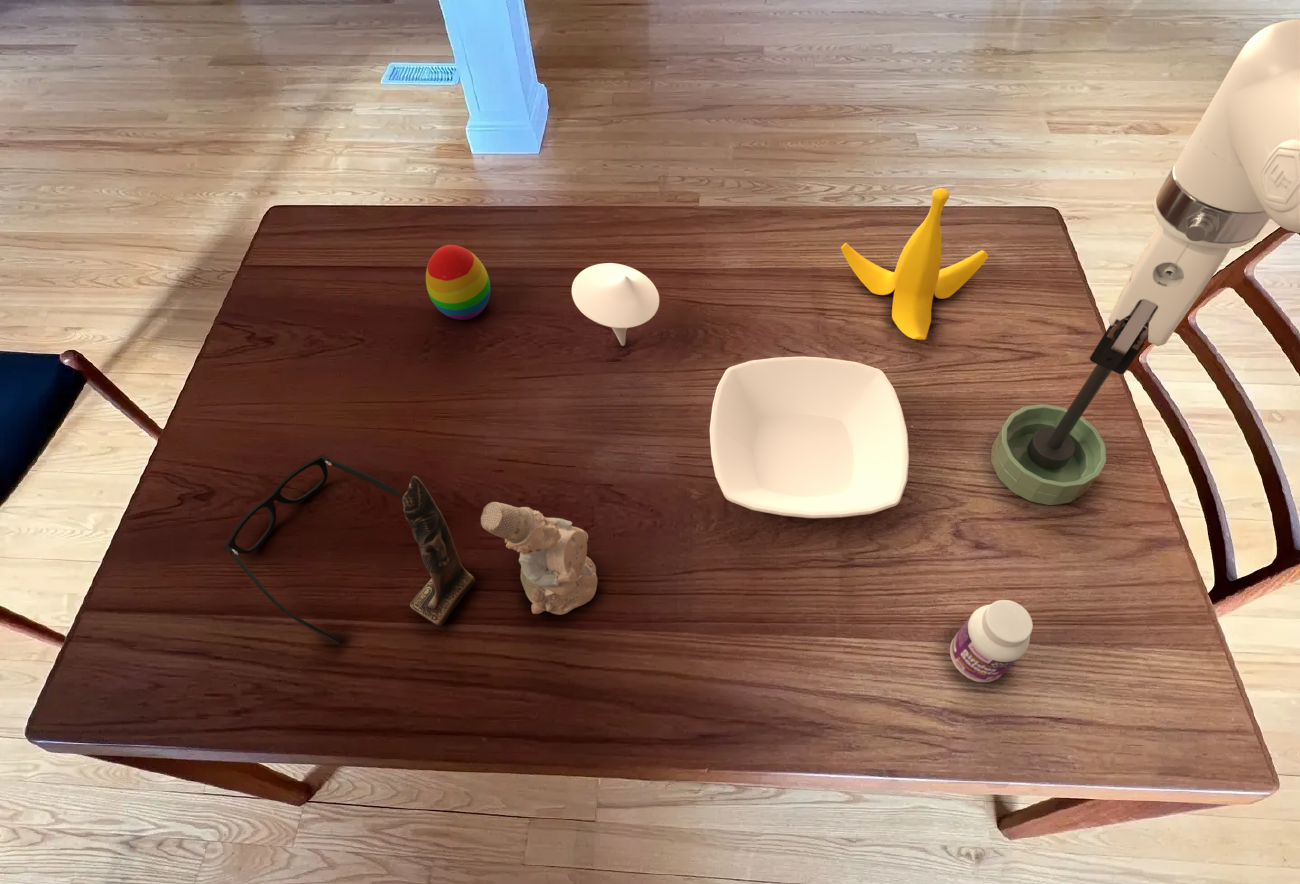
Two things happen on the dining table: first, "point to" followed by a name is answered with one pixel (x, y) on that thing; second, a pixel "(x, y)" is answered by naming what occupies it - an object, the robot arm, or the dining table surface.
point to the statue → (435, 556)
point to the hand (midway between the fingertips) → (1111, 357)
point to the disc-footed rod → (1065, 426)
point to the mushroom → (615, 297)
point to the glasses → (269, 504)
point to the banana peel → (917, 273)
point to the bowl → (809, 438)
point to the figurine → (545, 556)
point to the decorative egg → (457, 282)
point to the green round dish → (1036, 480)
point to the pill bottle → (991, 640)
